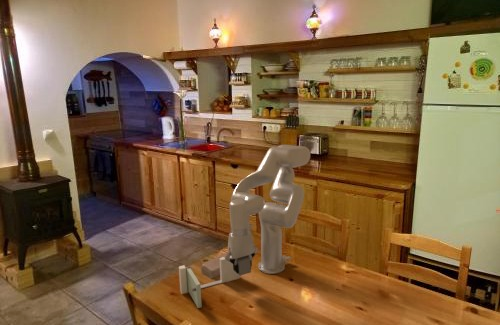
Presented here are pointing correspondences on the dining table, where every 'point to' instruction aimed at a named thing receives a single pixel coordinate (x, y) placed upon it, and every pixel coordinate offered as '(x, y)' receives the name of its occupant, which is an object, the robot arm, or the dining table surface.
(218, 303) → the dining table surface
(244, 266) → the grey block
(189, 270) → the door
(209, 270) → the brick
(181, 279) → the wall frame
